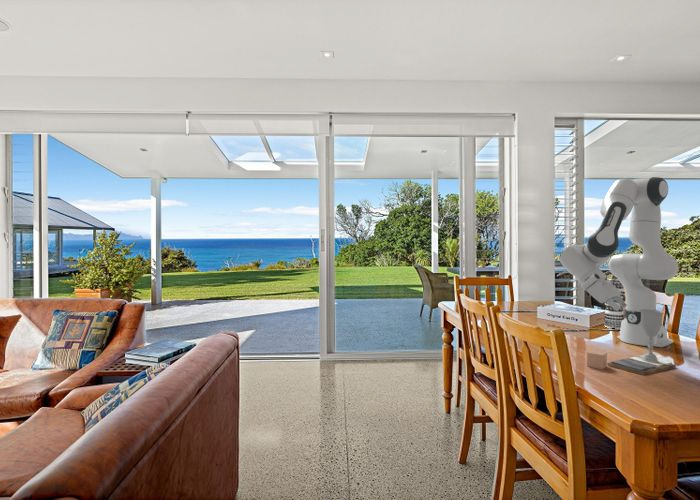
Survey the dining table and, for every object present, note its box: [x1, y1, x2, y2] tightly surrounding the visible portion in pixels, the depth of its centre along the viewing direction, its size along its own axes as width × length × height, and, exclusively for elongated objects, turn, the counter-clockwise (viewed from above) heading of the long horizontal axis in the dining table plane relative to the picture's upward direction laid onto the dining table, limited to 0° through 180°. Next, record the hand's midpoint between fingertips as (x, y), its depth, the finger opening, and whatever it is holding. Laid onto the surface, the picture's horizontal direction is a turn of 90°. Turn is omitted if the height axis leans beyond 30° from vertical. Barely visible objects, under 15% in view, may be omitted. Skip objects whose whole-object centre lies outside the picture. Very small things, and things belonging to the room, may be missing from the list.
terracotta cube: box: [586, 349, 608, 370], centre depth 151 cm, size 5×5×5 cm
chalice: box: [640, 309, 665, 363], centre depth 153 cm, size 7×7×18 cm
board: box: [607, 354, 676, 376], centre depth 152 cm, size 20×12×2 cm, turn 117°
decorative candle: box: [603, 278, 626, 330], centre depth 218 cm, size 9×9×25 cm
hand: (622, 308), depth 159 cm, fingers open, 8 cm apart
